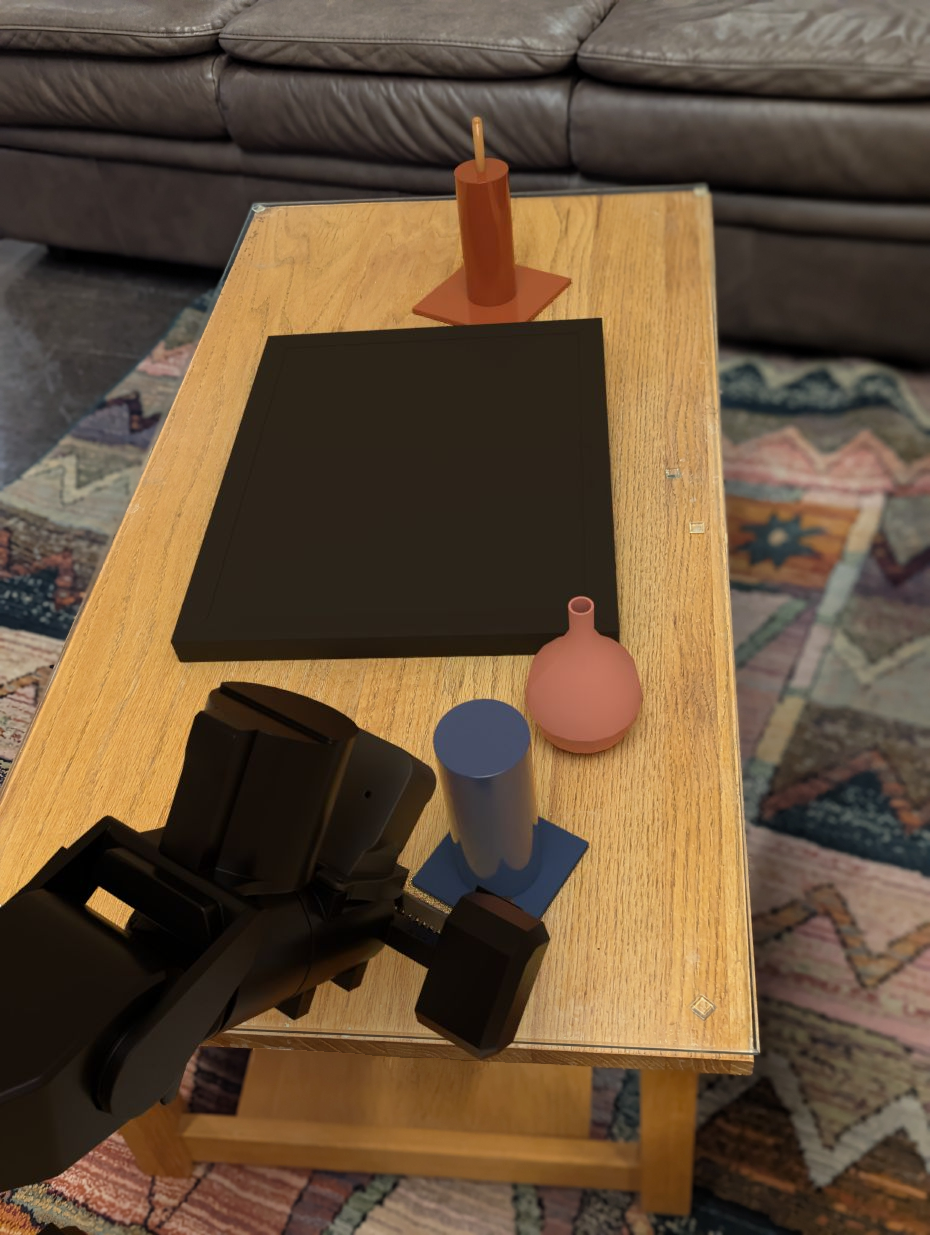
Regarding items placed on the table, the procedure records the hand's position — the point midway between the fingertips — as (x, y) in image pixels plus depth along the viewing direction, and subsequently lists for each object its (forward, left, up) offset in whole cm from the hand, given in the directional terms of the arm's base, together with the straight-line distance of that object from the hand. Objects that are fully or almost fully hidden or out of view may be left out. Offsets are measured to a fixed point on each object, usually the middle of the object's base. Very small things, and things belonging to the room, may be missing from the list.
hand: (435, 866), depth 58 cm
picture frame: (+33, +27, -9) cm, 44 cm away
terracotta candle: (+61, +37, -8) cm, 72 cm away
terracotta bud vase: (+18, +1, -9) cm, 20 cm away
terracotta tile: (+61, +37, -8) cm, 72 cm away
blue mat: (+6, 0, -8) cm, 10 cm away
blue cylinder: (+5, 0, -8) cm, 10 cm away
